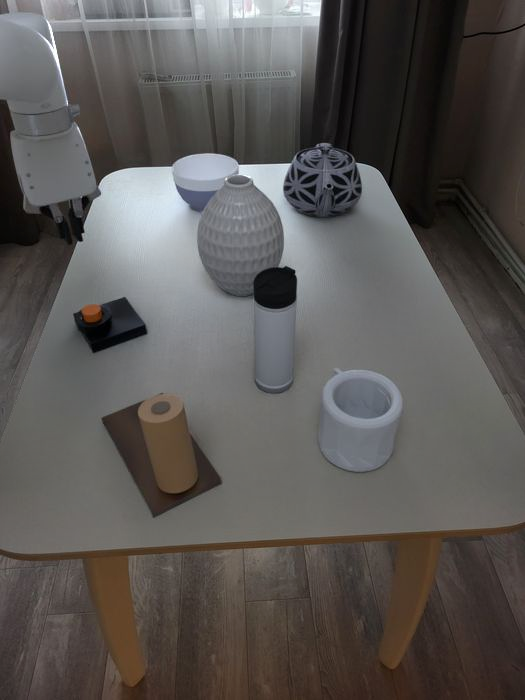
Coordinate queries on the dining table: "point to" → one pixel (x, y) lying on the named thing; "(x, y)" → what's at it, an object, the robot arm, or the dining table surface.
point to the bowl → (202, 177)
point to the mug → (359, 419)
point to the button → (92, 313)
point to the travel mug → (274, 328)
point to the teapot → (323, 181)
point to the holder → (137, 460)
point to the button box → (111, 325)
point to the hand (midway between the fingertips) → (73, 239)
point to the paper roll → (168, 442)
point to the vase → (239, 235)
